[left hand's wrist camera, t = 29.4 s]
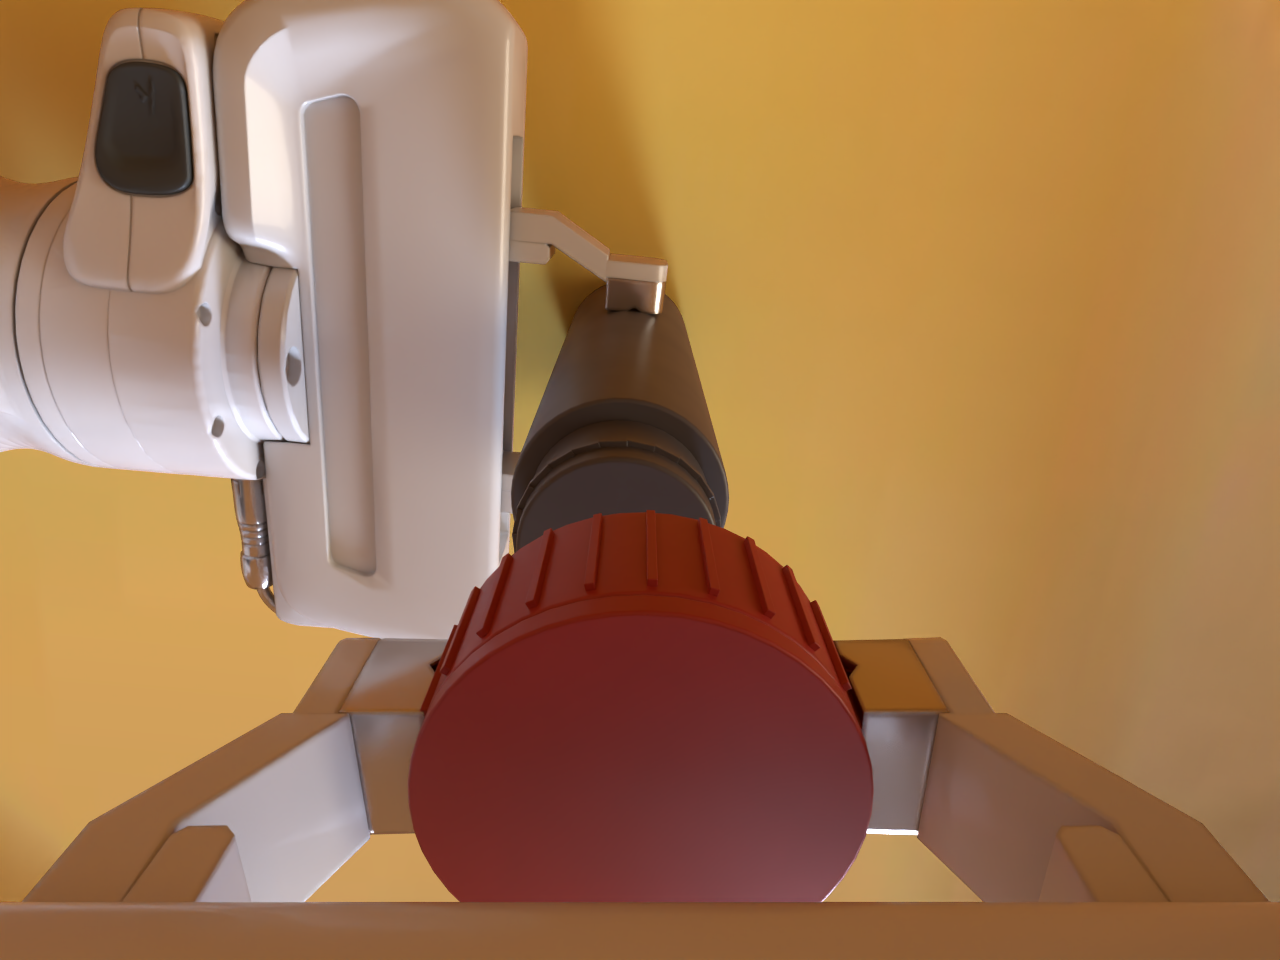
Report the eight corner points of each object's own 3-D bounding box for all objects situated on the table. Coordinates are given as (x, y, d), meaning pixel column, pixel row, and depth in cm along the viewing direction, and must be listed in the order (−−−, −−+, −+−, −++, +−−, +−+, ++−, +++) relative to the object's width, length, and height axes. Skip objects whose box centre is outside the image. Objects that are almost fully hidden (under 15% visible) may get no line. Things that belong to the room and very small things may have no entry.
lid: (666, 874, 12) (672, 1031, 10) (375, 703, 11) (309, 839, 9) (912, 654, 10) (983, 783, 8) (605, 423, 9) (594, 505, 7)
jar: (560, 382, 30) (476, 631, 15) (582, 268, 29) (513, 410, 13) (670, 406, 31) (706, 675, 15) (698, 295, 29) (772, 464, 13)
